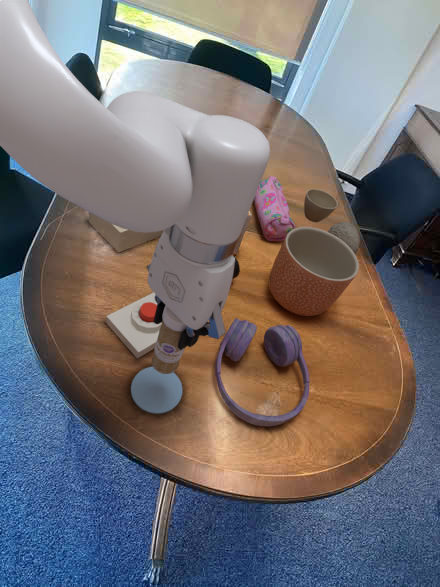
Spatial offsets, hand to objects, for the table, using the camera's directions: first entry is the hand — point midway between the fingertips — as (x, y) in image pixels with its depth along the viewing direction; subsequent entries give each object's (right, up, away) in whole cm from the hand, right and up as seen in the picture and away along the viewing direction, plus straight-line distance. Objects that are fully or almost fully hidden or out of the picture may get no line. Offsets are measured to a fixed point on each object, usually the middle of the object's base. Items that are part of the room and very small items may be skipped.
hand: (174, 330), depth 56 cm
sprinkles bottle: (-2, -6, +6) cm, 9 cm away
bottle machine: (-16, +21, +39) cm, 47 cm away
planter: (+25, +4, +38) cm, 46 cm away
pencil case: (+20, +27, +58) cm, 67 cm away
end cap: (+4, +8, +34) cm, 35 cm away
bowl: (+35, +29, +65) cm, 80 cm away
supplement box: (+6, +16, +43) cm, 46 cm away
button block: (-8, -1, +21) cm, 22 cm away
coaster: (-5, -12, +12) cm, 18 cm away
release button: (-7, +1, +18) cm, 20 cm away
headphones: (+14, -11, +20) cm, 27 cm away
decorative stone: (+39, +17, +55) cm, 69 cm away
